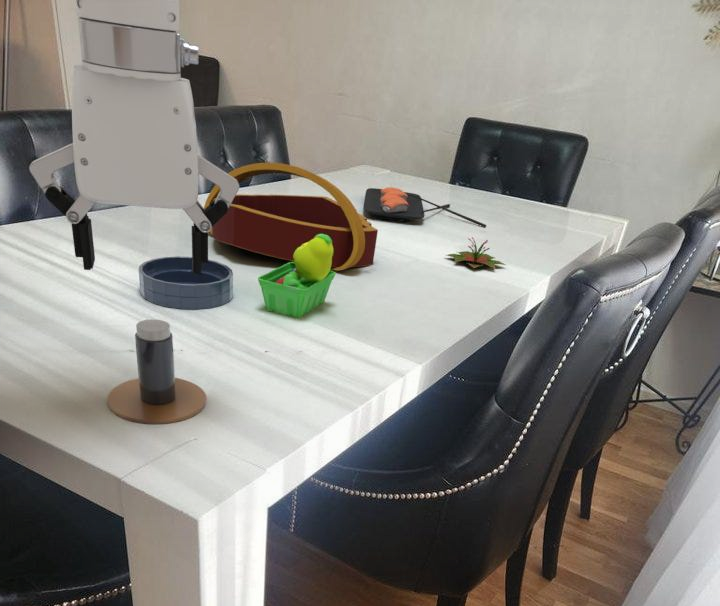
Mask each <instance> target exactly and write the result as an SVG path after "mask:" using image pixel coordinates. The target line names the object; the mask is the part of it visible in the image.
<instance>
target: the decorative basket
mask: <svg viewBox="0 0 720 606" xmlns="http://www.w3.org/2000/svg"><path fill="white" fill-rule="evenodd" d="M227 174H229V175H230V176H232V177H234V178H235V179H236V180H237V181H238V183H239V184H241V183H242V182H244V181H245V180H247V179H250V178H252V177H255V176H260V175H267V174H282V175H291V176H297V177H301V178H303V179H307V180H308V181H311V182H313V183H315V184H317V185H318V186H319V187H321V188H323V189H324V190H325V191H326V192H328V193H329V194H330V196H332V198H334V199H332V198H330V197H328V196H322V195H321V196H320V195H297V194H292V195H291V194H240V193H239V194H238V193H237V194H236V196H235V198H234V200H233V201H232V203H231V205H230V206H229V208H228V212H227V213H226V214H225V215H224V216H223V217H222V218H221V219H220V220H219V221H218V222H217V223H216V224H215V225H214V226H212V228H211V230H210V231H209V232H208V233H210V234H211V235H212V238H213V239H214V240H215V241H217V242H220V243H223V244H226V245H230V246H234V247H237V248H240V249H243V250H245V251H246V250H247V251H250V252H253V253H257V254H259V255H260V254H261V255H264V256H268V257H273V258H276V259H281V260H286V261H290V262H294V258H293V255H294V252H295V250H296V249H297V248H298V247H300V246H301V245H302V244H304V243H307V242H309V241H310V240H312V239H314V237H315V236H316V235H318V234H324V235H328V236H329V237H330V238H331V240H332V246H333V256H332V264H331V268H330V271H335V272H338V271H339V272H340V271H344V270H347V269H349V268H355V267H357V268H358V267H365V266H371V264H372V265H373V264H374V258H375V252H376V247H377V246H376V245H377V238H378V232H379V229H377V228H376V227H374V226H372V222H370V221H368V218H367V217H366V216H364V215H362V214H361V213H358V211H357V209H356V207H355V206H354V204H353V203H352V201H351V200H350V199H349V198H348V196H347V195H346V194H345V193H344V192H342V190H340V188H338V187H337V186H336V185H334V184H333V183H331V182H330V180H327V179H326V178H323V177H322V176H320V175H317V174H315V173H314V172H311V171H309V170H307V169H304V168H301V167H299V166H295V165H292V164H286V163H279V162H257V163H250V164H246V165H242V166H240V167H237V168H235V169H233V170H231V171H229V172H228V173H227ZM219 191H220V187H219V186H217V185H216V184H214V186H213V188H212V189H211V191H209V194H208V195H207V197H206V200H205V203H204V206H203V208H204V209H206V208H207V207H208V206H209V205H210V204H211V203H212V202H213V201H214V200H215V199H216V198H217V196H218V193H219Z"/></svg>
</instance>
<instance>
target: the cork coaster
mask: <svg viewBox="0 0 720 606" xmlns="http://www.w3.org/2000/svg"><path fill="white" fill-rule="evenodd" d="M175 392H176V398H175V400H174V401H172V402H170V403H168V404H164V405H151V404H147V403H145V402H143V401H142V400H141V398H140V389H139V377H137V378H134V379H130V380H127V381H124V382H123V383H120V384H118V385H116V386H115V387H114V388H112V389H111V391H110V392H109V393H108V395H107V405H108V408H109V410H110V411H111V412H112V413H113V414H114V415H116V416H117V417H119V418H121V419H124V420H127V421H129V422H134V423H140V424H147V425H150V424H151V425H156V424H157V425H162V424H164V425H165V424H171V423H177V422H181V421H185V420H187V419H190V418H192V417H194V416H196V415H198V414H199V413H200V412H202V410H203V409H204V408H205V406H206V404H207V395H206V392H205V391H204V390H203V388H201V387H200V386H199V385H197V384H195V383H194V382H192V381H189V380H186V379H182V378H178V377H175Z"/></svg>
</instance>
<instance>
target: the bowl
mask: <svg viewBox="0 0 720 606" xmlns="http://www.w3.org/2000/svg"><path fill="white" fill-rule="evenodd" d="M138 281H139V293H140V295H141V296H142V298H143V299H144V300H145V301H148V302H150V303H152V304H154V305H157V306H161V307H165V308H171V309H178V310H203V309H206V310H207V309H211V308H212V309H213V308H215V307H216V308H217V307H221V306H224V305H226V304H227V303H229V302H230V301H231V300H232V299H233V297H234V272H233V270H232V269H231V268H230V267H229V266H228V265H226V264H224V263H222V262H219V261H217V260H212V259H208V264H201V276H200V275H195V274H193V267H192V256H179V255H178V256H176V255H175V256H163V257H156V258H151V259H149V260H146V261H144V262H142V263H141V264H140V265H139V266H138Z"/></svg>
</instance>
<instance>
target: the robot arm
mask: <svg viewBox="0 0 720 606" xmlns="http://www.w3.org/2000/svg"><path fill="white" fill-rule="evenodd" d="M75 3H76V13H77V14H76V15H77V17H78V18H77V24H78V34H79V44H80V54H81V64H76V65H75V64H74V66H73V73H72V87H71V92H72V93H71V127H72V130H71V132H72V143H71V142H70V144H67V145H64V146H63V147H60V148H58V149H56V150H54V151H51V152H49V153H48V154H47V153H46V154H45V155H43V156H41V157H39V158H36V159H34V160H32V162H31V163H30V164H29V167H28V170H29V172H30V173H31V175H32V177H33V178H34V180H35V181H36V184H38V186H39V188H40V190H42V191H43V194H44V196H45V198H46V200H47V201H48V202H50V203H51V204H52V205H53V206H54V207H55V208H56V209H57V210H58V211H59V212H60V213H61V214H62V215H64V216H65V218H66V220H67V221H68V222H69V223H70V224H71V231H72V232H71V233H72V241H73V249H74V256H75V258H81V259H82V264H83V270H84V271H91V270H92V269H94V265H95V262H96V255H95V245H94V236H93V228H92V227H93V225H92V218H89V216H88V213H89V211H90V210H91V209H92V208H93V206H94V205H95V204H96V203H97V204H104V205H105V204H106V205H115V206H116V205H117V206H127V207H129V206H130V207H139V208H140V207H143V208H154V209H155V208H156V209H170V210H183V211H184V212H185V213H186V215H187V216H188V217H189V219H190V220H191V221H192V222H193V225H191V257H192V267H193V274H195V275H200V276H201V264H208V260H209V233H210V232H209V231H210V230H211V228H212V226H214V225H215V224H216V223H217V222H218V221H219V220H220V219H221V218H222V217H223V216H224V215H225V214H226V213H227V212H228V208H229V206H230V205H231V203H232V201H233V200H234V198H235V196H236V195H238V192H239V191H240V183H238V181H237V180H236V179H235V178H234V177H232V176H230V175H229V174H228V173H227V172H226V171H224V170H223V169H221V168H220V167H218V166H217V165H215V164H213V163H212V162H211V161H209V160H207V159H206V158H204V157H203V156H201V155H199V151H198V150H199V149H198V136H197V123H196V122H197V121H196V113H195V103H194V97H193V91H192V87H191V82H190V79H187V78H185V77H182V73H181V71H182V70H181V68H185V66H190V64H191V65H199V45H197V44H191V43H189V41H184V38H181V34H180V33H179V32H180V29H181V28H180V0H75ZM72 164H73V166H74V172H75V173H74V174H75V181H76V187H77V191H78V192H79V193H78V194H77V195H76V196H75V198H73V197H72V196H71V195H70V194H69V193H68V192H67V191H66V190H65V189H64V188H63V187H62V186H60V185H59V183H58V182H57V179H56V178H55V176H54V172H57V171H59V170H62V169H63V168H65V167H68V166H70V165H72ZM199 176H201V177H203V178H204V179H206V180H208V181H209V182H211V183H213V184H214V185H217V186H219V187H220V191H219V193H218V196H217V198H216V199H215V200H214V201H213V202H212V203H211V204H210V205H209V206H208V207H207V208H206V209H204V206H202V204H201V203H200V202H199V200H198V199H199V190H200V189H199V188H200V186H199V185H200V184H199V183H200V177H199Z"/></svg>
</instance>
